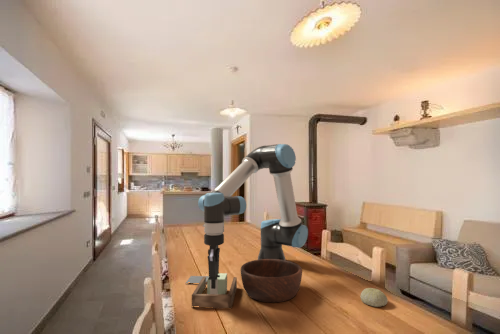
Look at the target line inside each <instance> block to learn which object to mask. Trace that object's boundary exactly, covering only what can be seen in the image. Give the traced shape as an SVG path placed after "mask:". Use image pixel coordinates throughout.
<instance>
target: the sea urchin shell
mask: <svg viewBox="0 0 500 334" xmlns="http://www.w3.org/2000/svg"><path fill="white" fill-rule="evenodd" d="M359 297H360V300H361V302H362V303H363V304H364V305H366V306H367V305H368V306H370V307H376V308H378V307H379V308H381V307H384V306H386V305H387V304H388V302H389V299H388V297H387V296H386V294H385V293H384V292H383V291H381V290H380V289H377V288H372V287H367V288H364V289H363V290H361V293H360V296H359Z"/></svg>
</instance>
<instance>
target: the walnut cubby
mask: <svg viewBox="0 0 500 334" xmlns="http://www.w3.org/2000/svg"><path fill="white" fill-rule="evenodd" d="M237 279H238V278H237V276H234V277H233V278H232V282H231V285H230V287H229V291H228V294H227V293H226V294H207V293H204V292H205V290H206V288H207V283H206V277H203V278H202V279H201V281H200V283H199V284H197V286H196V288H195V289H194V291H193V292H192V294H191V307H192V306H199V307H213V308H212V309H223V308H231V309H232V308H233V305H234V299H235V295H236V292H237V287H238V286H237V284H238V283H237ZM205 287H206V288H205ZM204 289H205V290H204ZM203 291H204V292H203ZM202 293H203V294H202Z"/></svg>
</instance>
